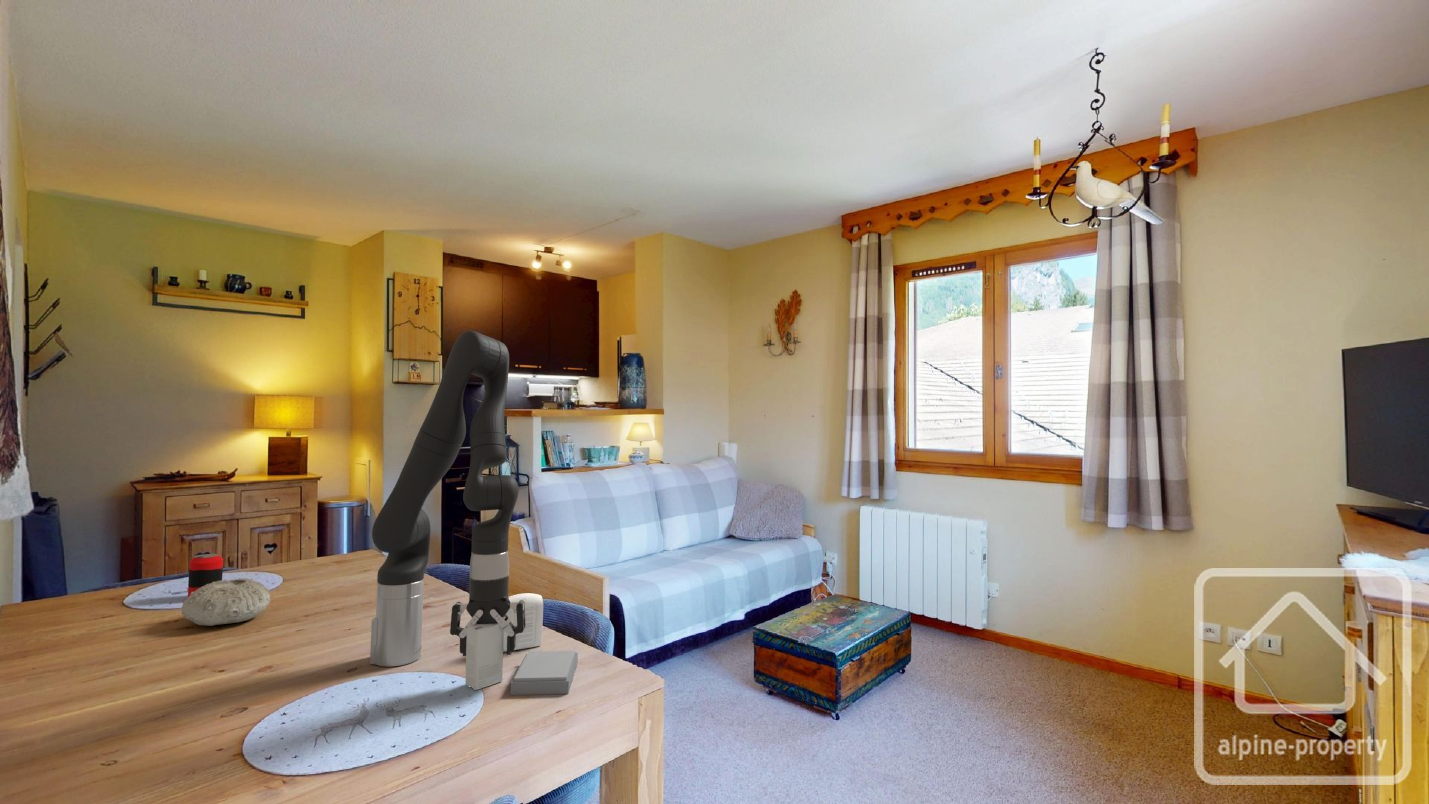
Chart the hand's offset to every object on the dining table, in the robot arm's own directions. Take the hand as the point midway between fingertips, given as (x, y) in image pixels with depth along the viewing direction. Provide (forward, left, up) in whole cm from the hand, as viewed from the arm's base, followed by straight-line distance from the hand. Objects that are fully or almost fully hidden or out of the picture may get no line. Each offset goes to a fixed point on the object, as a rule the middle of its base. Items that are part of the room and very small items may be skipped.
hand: (487, 654), depth 124 cm
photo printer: (+2, +19, -6) cm, 20 cm away
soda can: (-96, +63, -6) cm, 115 cm away
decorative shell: (-76, +41, -6) cm, 86 cm away
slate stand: (+11, +1, -6) cm, 13 cm away
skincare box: (-1, -1, -6) cm, 6 cm away
